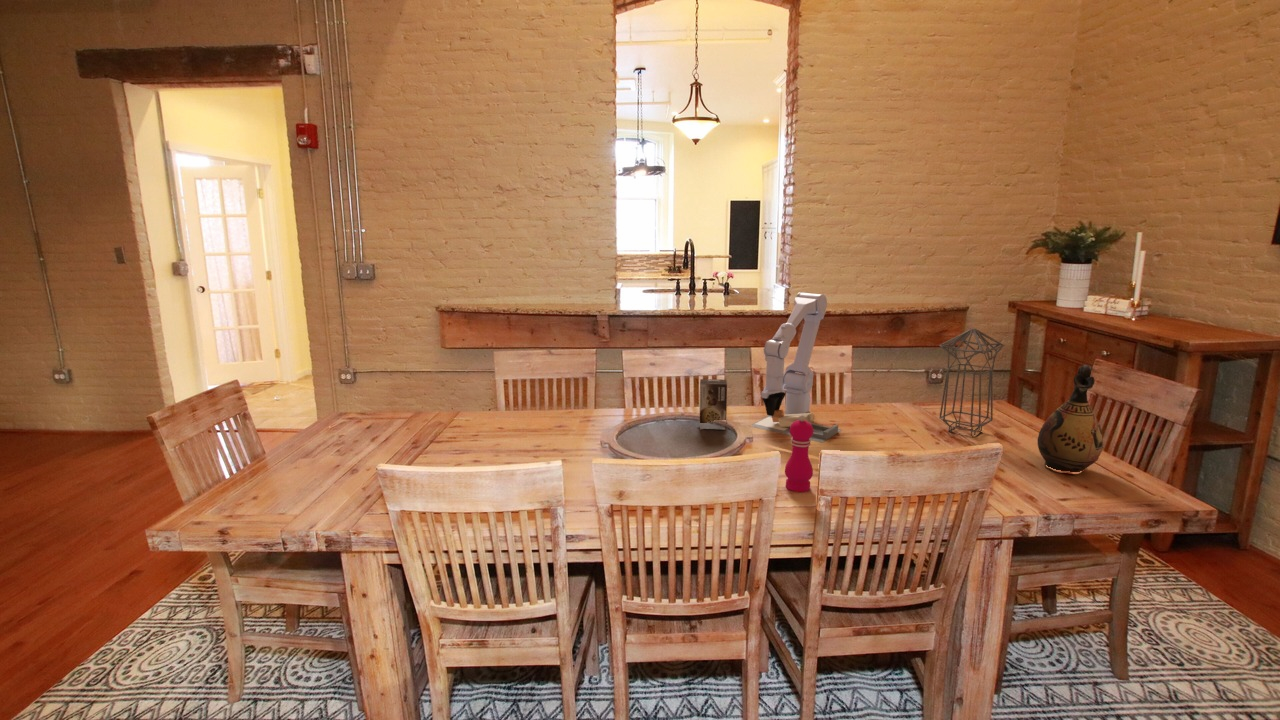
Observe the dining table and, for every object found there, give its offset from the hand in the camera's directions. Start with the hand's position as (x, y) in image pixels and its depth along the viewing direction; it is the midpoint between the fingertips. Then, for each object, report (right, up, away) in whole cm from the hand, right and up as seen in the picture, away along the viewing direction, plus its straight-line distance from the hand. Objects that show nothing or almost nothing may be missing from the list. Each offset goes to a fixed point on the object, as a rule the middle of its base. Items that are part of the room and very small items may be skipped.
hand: (772, 414), depth 223 cm
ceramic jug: (+77, -13, -35) cm, 85 cm away
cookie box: (-21, -5, -2) cm, 21 cm away
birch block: (+6, -3, -4) cm, 8 cm away
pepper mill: (-3, -15, -50) cm, 52 cm away
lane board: (+7, -5, -4) cm, 9 cm away
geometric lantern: (+62, -6, -5) cm, 63 cm away
